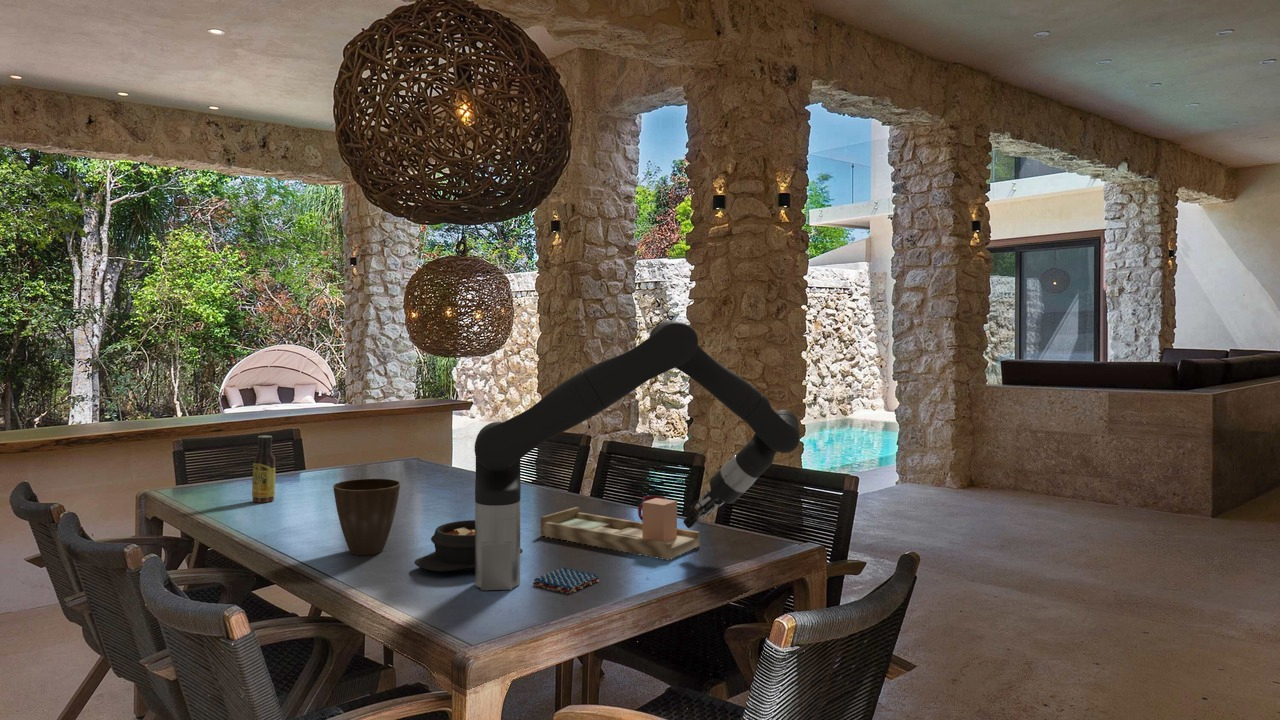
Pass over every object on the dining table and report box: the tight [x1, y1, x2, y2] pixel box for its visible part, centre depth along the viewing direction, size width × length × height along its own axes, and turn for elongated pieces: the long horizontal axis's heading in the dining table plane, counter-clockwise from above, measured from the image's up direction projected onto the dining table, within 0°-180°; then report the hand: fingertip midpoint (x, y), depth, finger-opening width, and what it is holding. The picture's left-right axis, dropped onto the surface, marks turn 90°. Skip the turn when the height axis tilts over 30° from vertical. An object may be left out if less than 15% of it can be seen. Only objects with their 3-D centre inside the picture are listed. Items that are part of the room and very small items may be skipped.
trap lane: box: [540, 506, 701, 561], centre depth 204 cm, size 38×14×5 cm, turn 56°
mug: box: [637, 495, 668, 522], centre depth 223 cm, size 7×10×7 cm
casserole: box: [414, 519, 524, 573], centre depth 183 cm, size 25×19×8 cm
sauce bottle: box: [251, 435, 276, 504], centre depth 248 cm, size 7×6×20 cm
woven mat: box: [532, 567, 600, 593], centre depth 170 cm, size 10×11×2 cm
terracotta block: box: [642, 498, 678, 542], centre depth 197 cm, size 6×6×9 cm
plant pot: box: [332, 478, 401, 556], centre depth 193 cm, size 15×15×16 cm
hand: (687, 524), depth 193 cm, fingers closed
